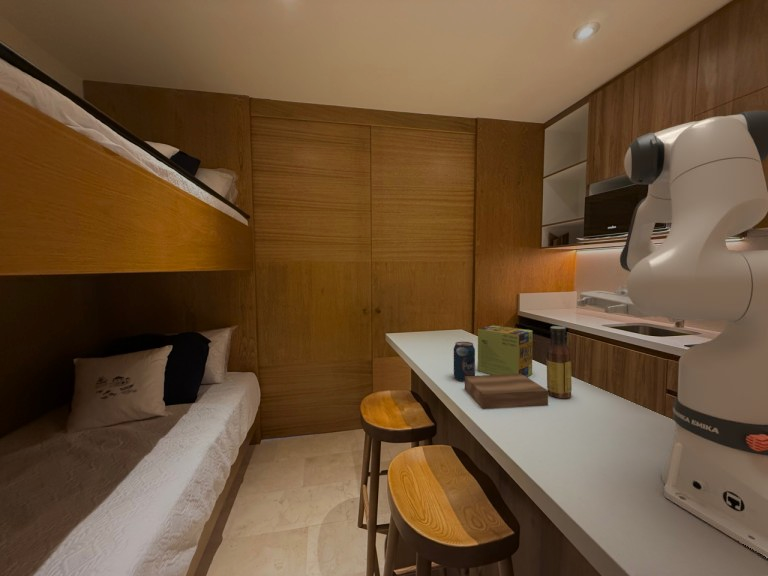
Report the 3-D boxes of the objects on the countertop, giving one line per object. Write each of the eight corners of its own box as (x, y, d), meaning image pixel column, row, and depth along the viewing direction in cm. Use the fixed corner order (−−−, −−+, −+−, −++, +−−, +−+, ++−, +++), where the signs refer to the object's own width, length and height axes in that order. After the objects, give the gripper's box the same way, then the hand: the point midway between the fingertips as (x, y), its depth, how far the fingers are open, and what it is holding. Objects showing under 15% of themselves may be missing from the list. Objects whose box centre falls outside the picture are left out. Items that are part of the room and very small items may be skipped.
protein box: (519, 382, 103) (519, 334, 102) (476, 371, 115) (477, 328, 114) (533, 374, 110) (533, 330, 109) (492, 365, 122) (492, 324, 121)
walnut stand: (548, 405, 86) (548, 390, 85) (483, 408, 84) (483, 393, 84) (520, 386, 99) (521, 373, 99) (464, 389, 98) (464, 376, 98)
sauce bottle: (565, 391, 95) (566, 325, 94) (575, 399, 89) (577, 329, 88) (542, 390, 96) (543, 325, 94) (551, 399, 89) (552, 329, 88)
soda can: (466, 384, 102) (467, 346, 101) (449, 378, 107) (449, 343, 107) (479, 378, 107) (479, 343, 106) (461, 374, 112) (461, 340, 111)
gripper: (601, 284, 104) (564, 290, 101) (669, 294, 84) (625, 302, 81) (601, 303, 105) (564, 309, 102) (668, 317, 85) (625, 326, 82)
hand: (592, 306), depth 92 cm, fingers open, 8 cm apart
